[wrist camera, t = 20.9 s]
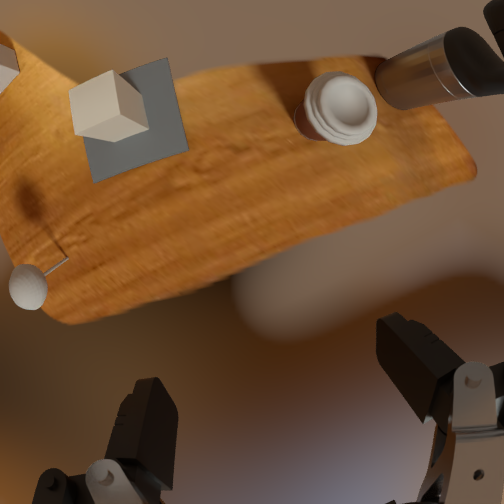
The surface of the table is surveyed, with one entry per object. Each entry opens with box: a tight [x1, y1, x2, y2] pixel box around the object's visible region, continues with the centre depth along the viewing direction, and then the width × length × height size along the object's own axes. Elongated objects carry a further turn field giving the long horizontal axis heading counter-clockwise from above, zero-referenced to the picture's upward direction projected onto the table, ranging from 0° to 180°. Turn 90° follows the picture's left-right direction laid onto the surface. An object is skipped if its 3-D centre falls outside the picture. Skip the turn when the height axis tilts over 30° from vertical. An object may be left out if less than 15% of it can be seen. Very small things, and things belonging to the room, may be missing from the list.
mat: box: [83, 58, 189, 183], centre depth 33 cm, size 15×15×1 cm
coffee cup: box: [294, 72, 377, 146], centre depth 31 cm, size 9×9×12 cm
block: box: [69, 69, 149, 142], centre depth 27 cm, size 6×6×12 cm
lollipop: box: [9, 257, 69, 310], centre depth 31 cm, size 6×6×15 cm
